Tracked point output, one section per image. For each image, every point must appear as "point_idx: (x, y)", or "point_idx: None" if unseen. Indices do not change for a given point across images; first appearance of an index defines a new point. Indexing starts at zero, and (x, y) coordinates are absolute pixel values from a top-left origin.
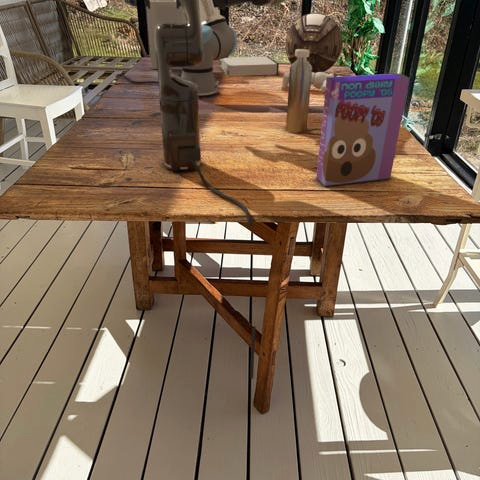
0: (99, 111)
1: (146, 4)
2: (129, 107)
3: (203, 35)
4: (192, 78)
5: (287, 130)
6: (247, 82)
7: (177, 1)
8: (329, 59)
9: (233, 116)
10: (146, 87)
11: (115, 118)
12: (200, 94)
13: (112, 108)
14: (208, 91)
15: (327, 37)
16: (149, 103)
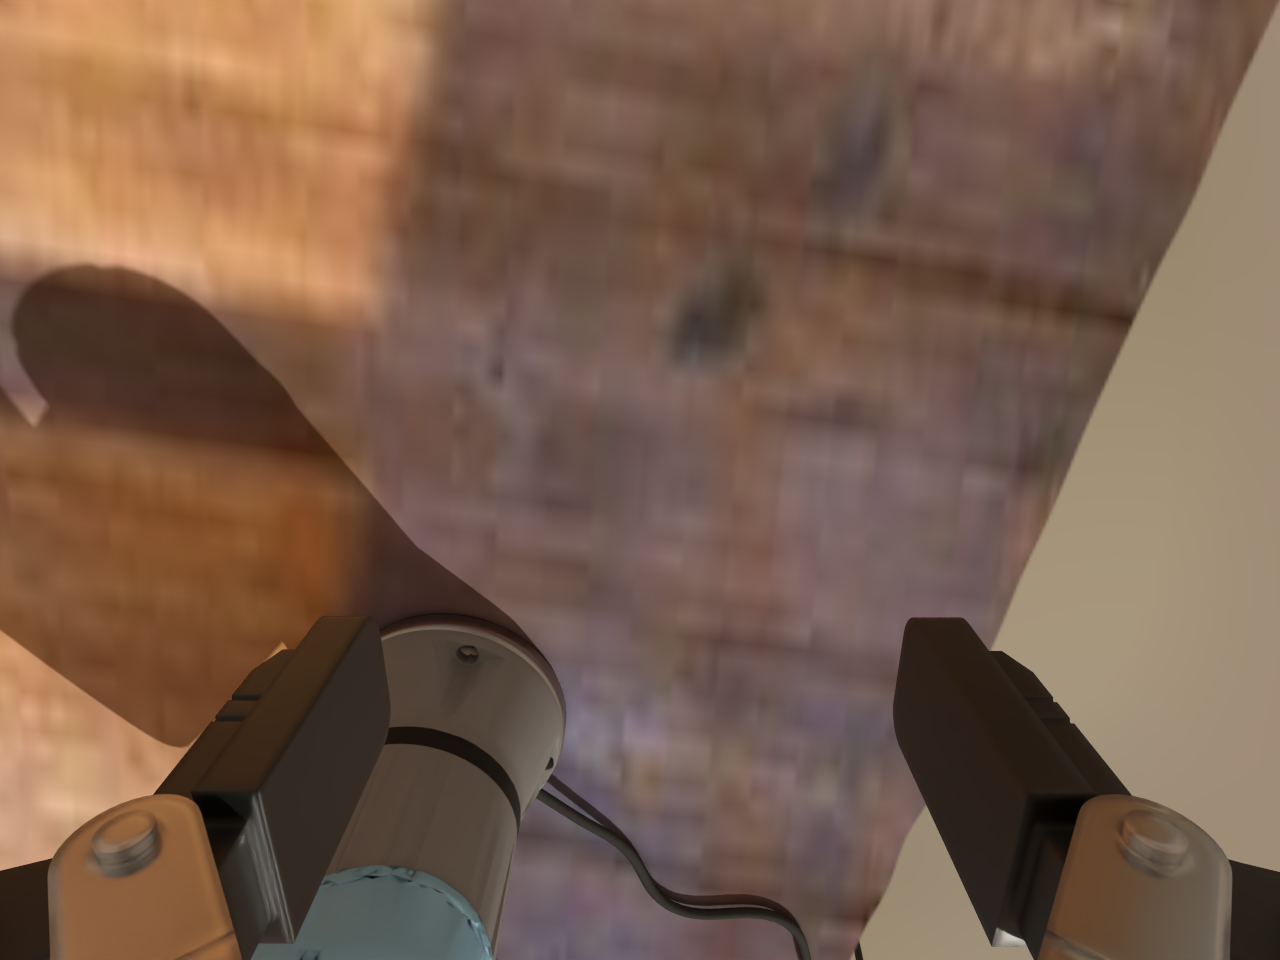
0: (1041, 435)
1: (1010, 674)
2: (863, 491)
3: (264, 958)
4: (463, 708)
5: None
6: None
7: (297, 686)
8: None
9: (245, 211)
10: (732, 844)
11: (971, 279)
12: (438, 624)
13: (961, 484)
14: (385, 642)
15: None
16: (743, 553)
